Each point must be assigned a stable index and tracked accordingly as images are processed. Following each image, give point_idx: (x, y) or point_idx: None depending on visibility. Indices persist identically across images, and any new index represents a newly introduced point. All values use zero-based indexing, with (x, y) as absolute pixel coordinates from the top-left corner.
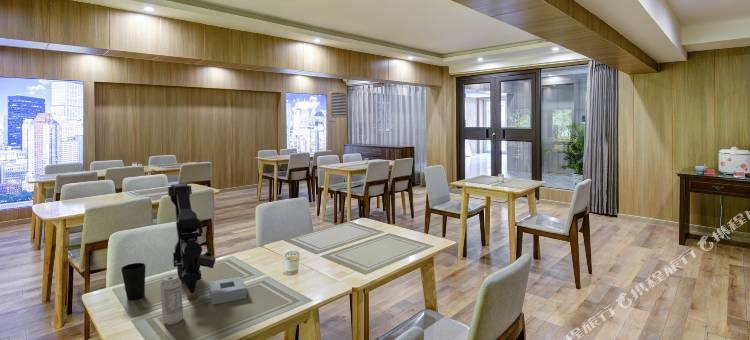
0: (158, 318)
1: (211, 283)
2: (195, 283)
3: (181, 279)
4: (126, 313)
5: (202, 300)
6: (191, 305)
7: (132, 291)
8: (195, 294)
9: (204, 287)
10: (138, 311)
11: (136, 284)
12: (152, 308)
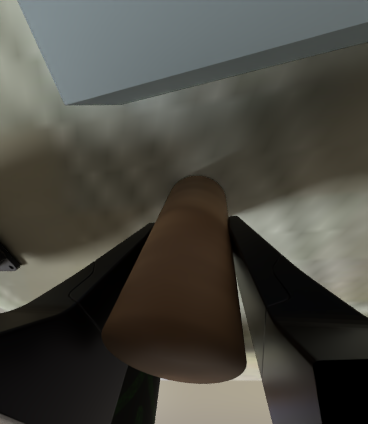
0: (361, 306)
1: (112, 56)
2: (307, 276)
3: (4, 259)
4: (248, 353)
5: (259, 139)
6: (304, 199)
7: (159, 380)
8: (220, 198)
9: (55, 151)
10: (249, 338)
11: (150, 410)
12: (244, 316)
